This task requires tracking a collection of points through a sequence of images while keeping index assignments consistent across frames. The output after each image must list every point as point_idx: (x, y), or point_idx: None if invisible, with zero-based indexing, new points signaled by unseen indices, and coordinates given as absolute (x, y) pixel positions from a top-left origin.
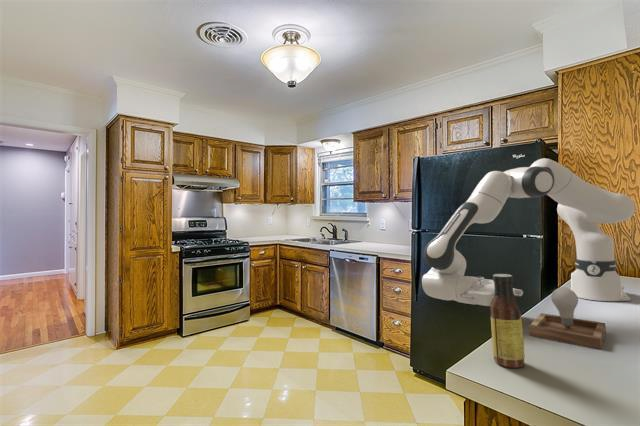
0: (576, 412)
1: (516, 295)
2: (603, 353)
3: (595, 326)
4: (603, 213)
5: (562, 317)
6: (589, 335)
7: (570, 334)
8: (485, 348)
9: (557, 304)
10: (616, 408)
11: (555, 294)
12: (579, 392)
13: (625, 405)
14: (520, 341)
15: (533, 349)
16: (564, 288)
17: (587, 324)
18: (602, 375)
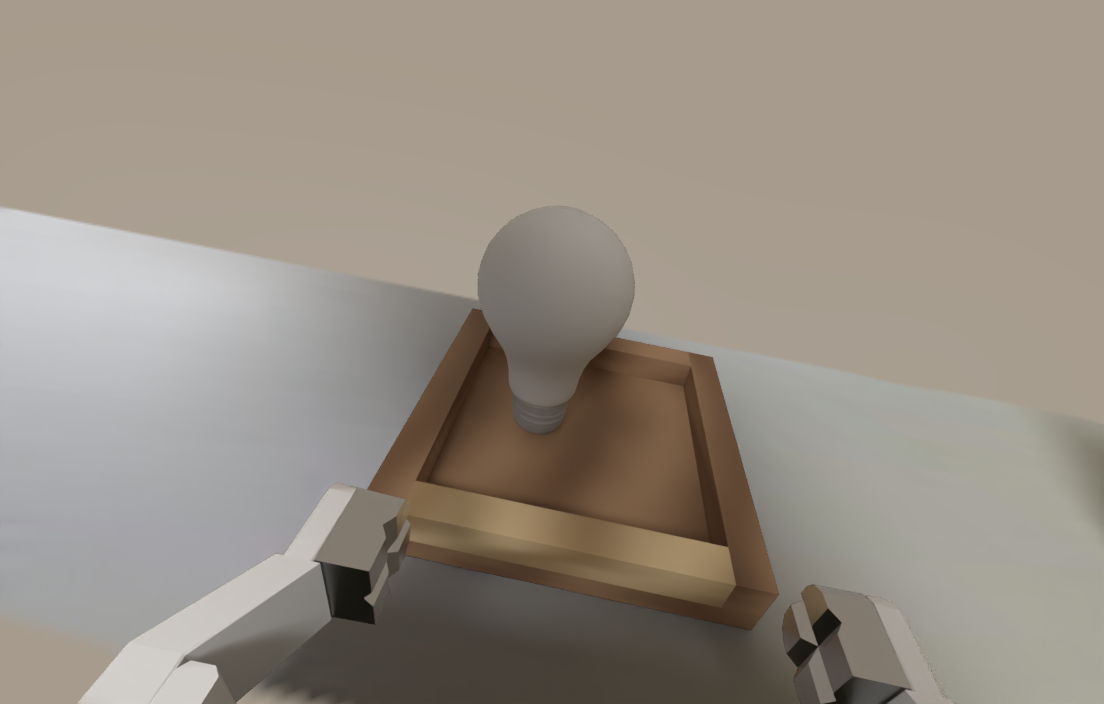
0: None
1: (383, 602)
2: (734, 390)
3: (487, 343)
4: None
5: (570, 397)
6: (697, 372)
7: (728, 422)
8: None
9: (607, 343)
10: (1096, 436)
11: (615, 284)
12: None
13: (1054, 419)
14: None
15: (961, 606)
16: (585, 213)
17: (480, 356)
18: (932, 424)
